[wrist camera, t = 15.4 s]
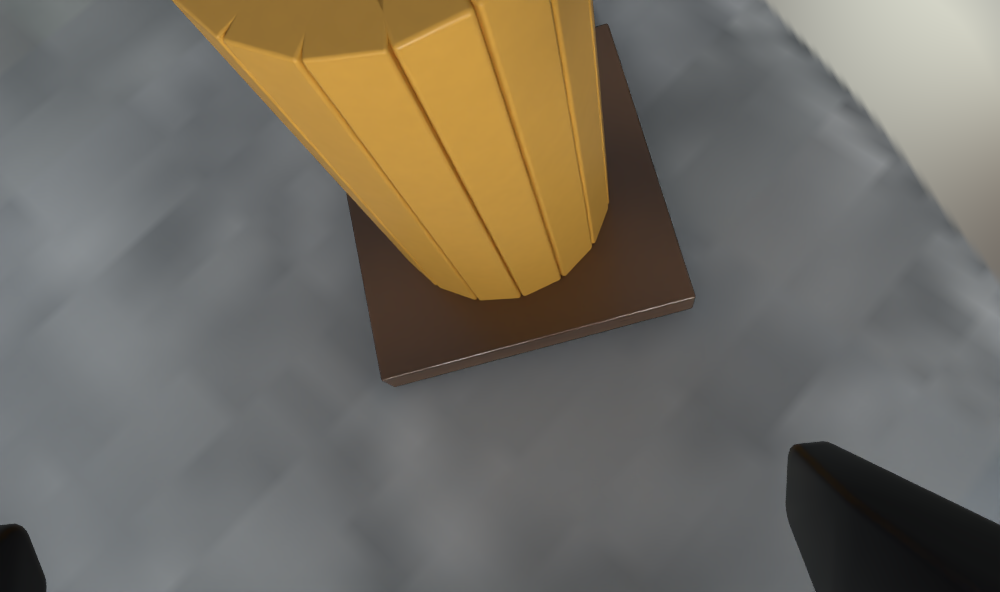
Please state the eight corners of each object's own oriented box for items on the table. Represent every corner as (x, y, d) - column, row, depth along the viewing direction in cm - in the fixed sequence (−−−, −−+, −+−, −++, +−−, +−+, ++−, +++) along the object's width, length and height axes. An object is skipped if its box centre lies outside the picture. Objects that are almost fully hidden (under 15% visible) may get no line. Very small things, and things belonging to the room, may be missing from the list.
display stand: (693, 307, 22) (712, 238, 17) (393, 387, 23) (314, 347, 17) (609, 44, 25) (600, -94, 19) (343, 124, 26) (260, 14, 20)
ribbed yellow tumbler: (646, 239, 22) (659, -81, 10) (439, 337, 22) (214, 137, 10) (551, 61, 24) (467, -382, 12) (362, 153, 24) (98, -192, 12)
